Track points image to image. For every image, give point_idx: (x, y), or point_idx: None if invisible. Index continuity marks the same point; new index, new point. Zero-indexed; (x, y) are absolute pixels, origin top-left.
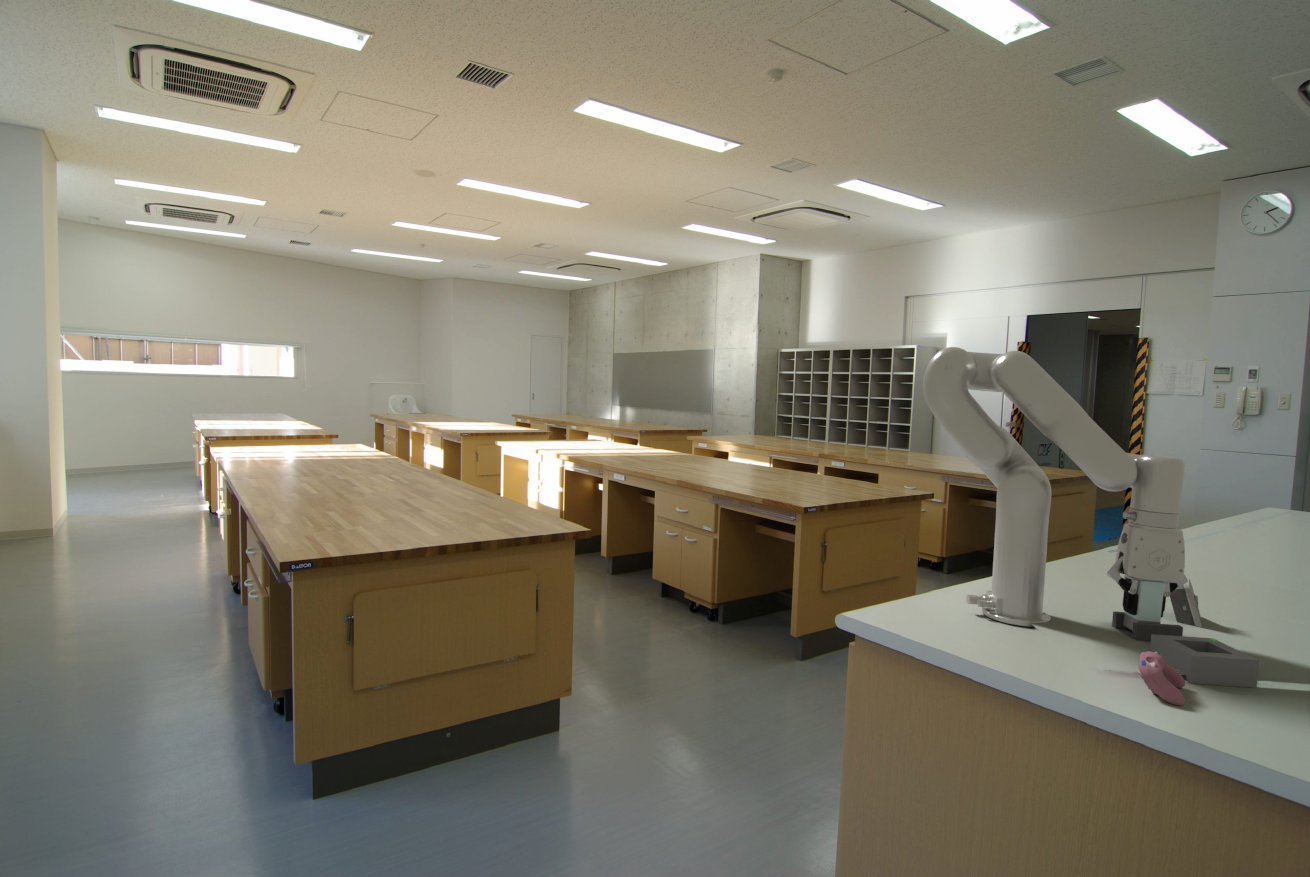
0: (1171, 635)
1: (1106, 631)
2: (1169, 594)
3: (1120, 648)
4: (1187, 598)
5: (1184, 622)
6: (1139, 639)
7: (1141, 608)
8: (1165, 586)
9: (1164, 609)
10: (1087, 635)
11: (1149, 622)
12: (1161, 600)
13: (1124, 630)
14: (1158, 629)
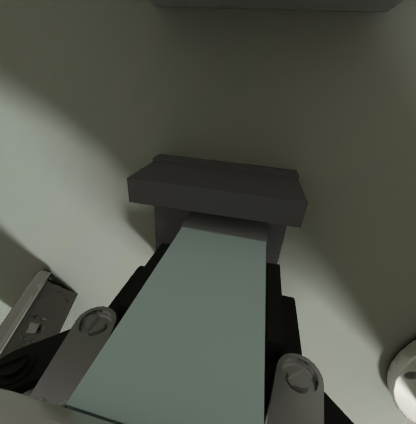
0: (177, 172)
1: (286, 278)
2: (83, 317)
3: (389, 139)
4: (2, 350)
5: (59, 297)
6: (287, 178)
7: (254, 272)
8: (74, 371)
9: (137, 270)
10: (388, 252)
11: (221, 230)
12: (148, 288)
13: None
14: (220, 184)
